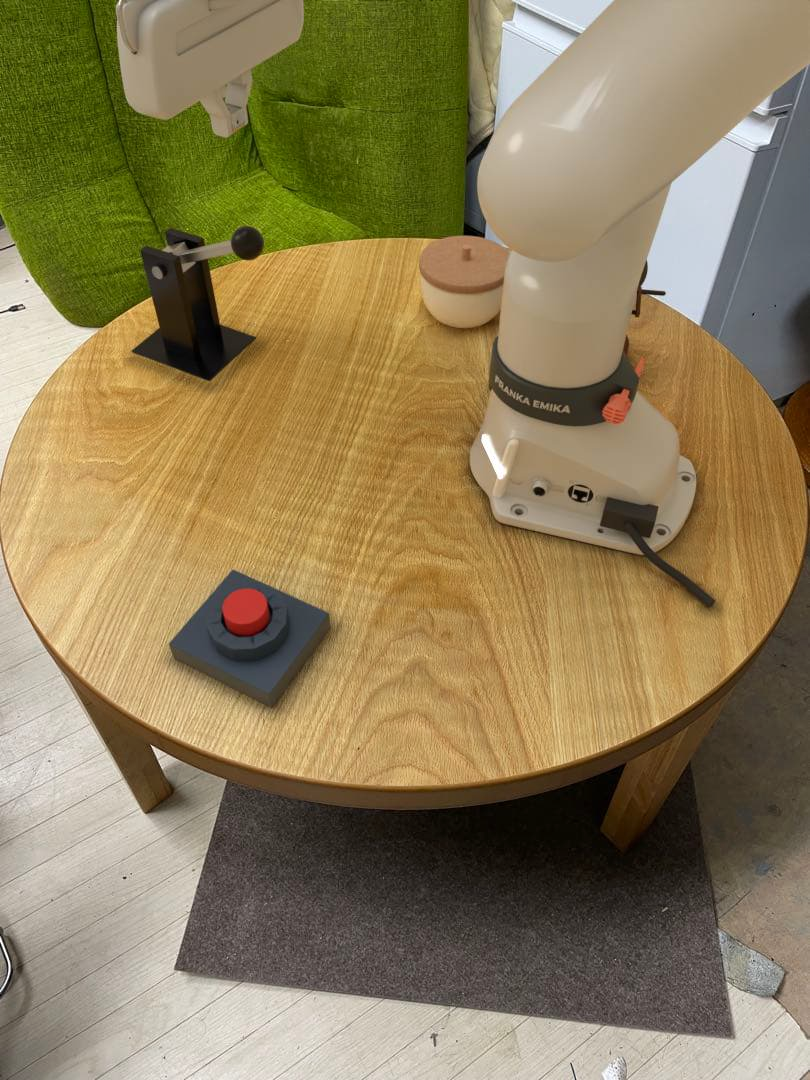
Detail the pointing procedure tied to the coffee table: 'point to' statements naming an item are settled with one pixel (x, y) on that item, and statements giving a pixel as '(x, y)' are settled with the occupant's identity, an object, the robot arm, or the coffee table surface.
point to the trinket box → (463, 280)
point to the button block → (252, 641)
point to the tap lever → (222, 248)
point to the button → (246, 612)
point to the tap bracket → (187, 314)
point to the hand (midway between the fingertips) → (231, 130)
